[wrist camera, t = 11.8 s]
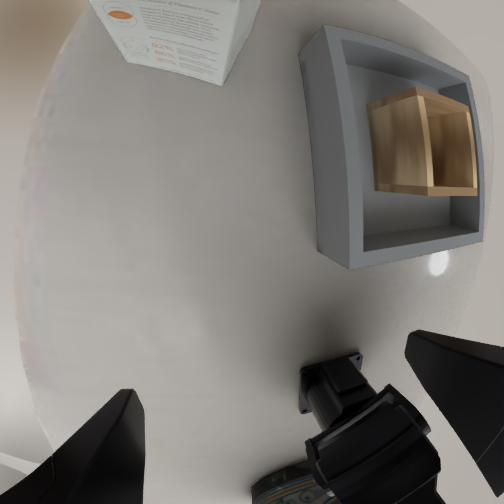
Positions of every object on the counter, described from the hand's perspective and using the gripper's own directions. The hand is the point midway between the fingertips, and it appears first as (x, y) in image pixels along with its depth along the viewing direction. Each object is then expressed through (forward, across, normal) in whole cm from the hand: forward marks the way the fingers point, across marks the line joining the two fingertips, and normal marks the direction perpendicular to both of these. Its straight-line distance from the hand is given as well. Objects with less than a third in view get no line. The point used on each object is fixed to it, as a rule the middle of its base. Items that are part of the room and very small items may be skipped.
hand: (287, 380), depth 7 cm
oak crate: (+12, -14, -8) cm, 20 cm away
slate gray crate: (+13, -14, -8) cm, 21 cm away
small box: (+13, +2, -17) cm, 22 cm away
